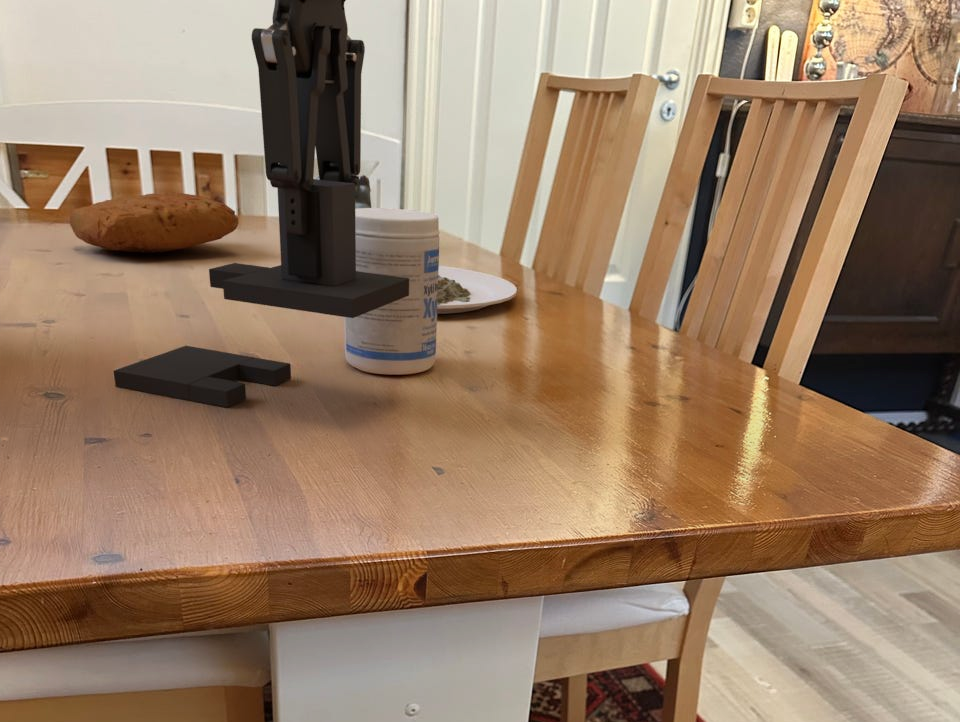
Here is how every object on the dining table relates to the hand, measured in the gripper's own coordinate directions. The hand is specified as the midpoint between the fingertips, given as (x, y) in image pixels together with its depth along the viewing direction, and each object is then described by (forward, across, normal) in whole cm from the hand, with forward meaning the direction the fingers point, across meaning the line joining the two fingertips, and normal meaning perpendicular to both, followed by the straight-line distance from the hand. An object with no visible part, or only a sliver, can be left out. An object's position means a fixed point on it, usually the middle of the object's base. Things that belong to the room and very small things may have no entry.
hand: (318, 271), depth 79 cm
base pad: (+11, 0, +12) cm, 17 cm away
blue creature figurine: (+12, +78, +40) cm, 89 cm away
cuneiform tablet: (+11, +54, +58) cm, 81 cm away
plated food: (+12, +50, +13) cm, 53 cm away
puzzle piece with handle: (+2, 0, +2) cm, 3 cm away
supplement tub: (+12, +16, 0) cm, 19 cm away
